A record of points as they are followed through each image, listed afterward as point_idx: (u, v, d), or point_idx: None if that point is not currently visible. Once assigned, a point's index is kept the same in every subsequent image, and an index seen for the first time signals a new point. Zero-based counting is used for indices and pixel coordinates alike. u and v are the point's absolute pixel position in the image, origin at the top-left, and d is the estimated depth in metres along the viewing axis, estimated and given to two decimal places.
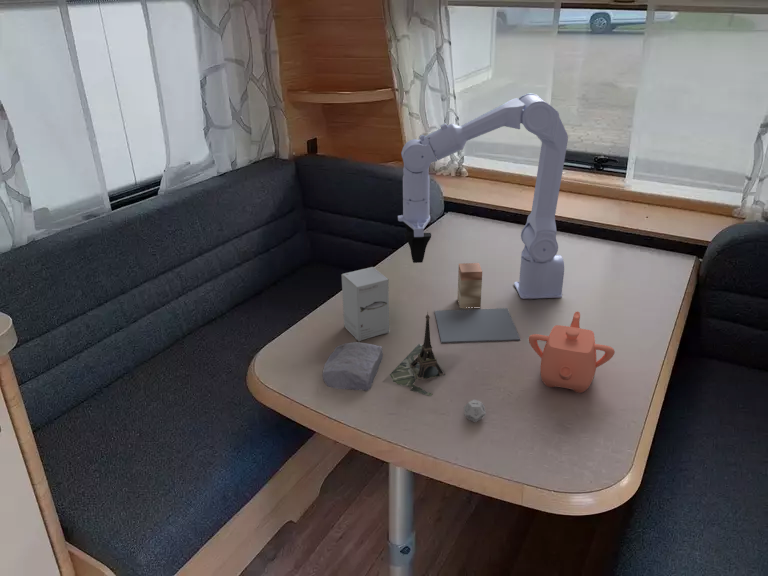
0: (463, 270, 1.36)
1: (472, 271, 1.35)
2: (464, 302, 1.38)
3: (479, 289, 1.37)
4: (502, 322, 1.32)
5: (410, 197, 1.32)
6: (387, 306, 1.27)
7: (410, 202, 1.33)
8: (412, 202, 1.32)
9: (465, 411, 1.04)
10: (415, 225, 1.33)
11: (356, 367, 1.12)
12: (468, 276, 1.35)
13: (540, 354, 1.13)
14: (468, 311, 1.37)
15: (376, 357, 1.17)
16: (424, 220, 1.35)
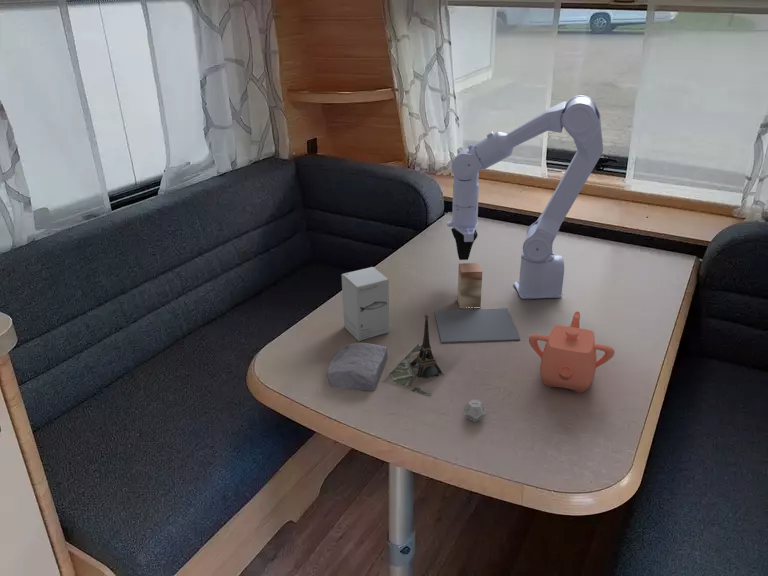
0: (463, 270, 1.36)
1: (472, 271, 1.35)
2: (464, 302, 1.38)
3: (478, 289, 1.37)
4: (502, 322, 1.32)
5: (457, 203, 1.39)
6: (387, 306, 1.27)
7: (460, 208, 1.39)
8: (462, 208, 1.39)
9: (465, 411, 1.04)
10: (465, 230, 1.39)
11: (361, 368, 1.12)
12: (468, 276, 1.35)
13: (540, 354, 1.13)
14: (468, 311, 1.37)
15: (381, 357, 1.17)
16: (473, 226, 1.41)
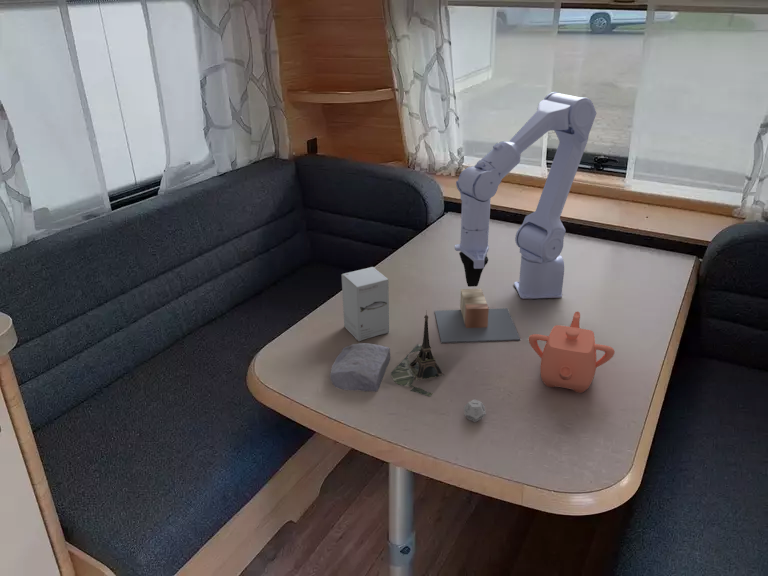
0: (469, 324, 1.30)
1: (477, 326, 1.31)
2: None
3: None
4: (502, 322, 1.32)
5: (477, 227, 1.26)
6: (387, 306, 1.27)
7: (469, 232, 1.27)
8: (471, 232, 1.26)
9: (465, 411, 1.04)
10: (474, 256, 1.27)
11: (364, 368, 1.12)
12: None
13: (540, 354, 1.13)
14: None
15: (384, 358, 1.17)
16: (483, 250, 1.29)
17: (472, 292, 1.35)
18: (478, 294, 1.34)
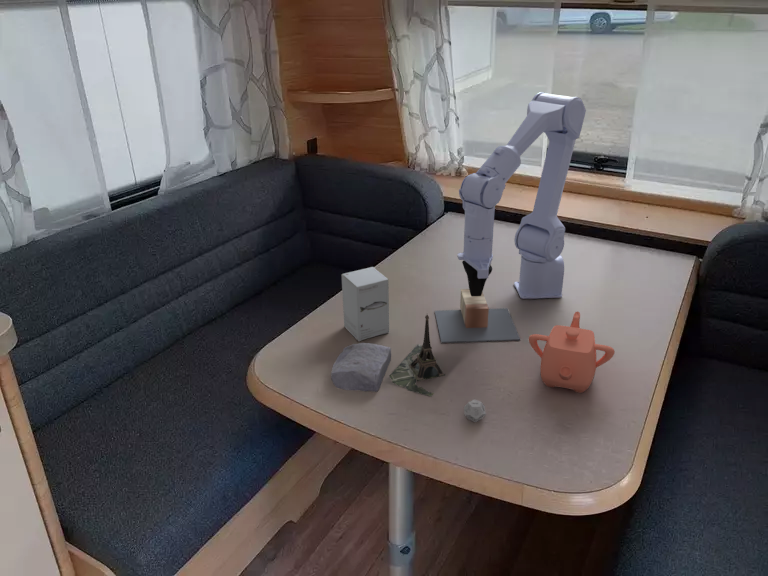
0: (469, 324, 1.30)
1: (477, 326, 1.31)
2: None
3: None
4: (502, 322, 1.32)
5: (483, 235, 1.22)
6: (387, 306, 1.27)
7: (473, 240, 1.23)
8: (475, 240, 1.22)
9: (465, 411, 1.04)
10: (478, 265, 1.23)
11: (365, 368, 1.12)
12: None
13: (540, 354, 1.13)
14: None
15: (385, 358, 1.17)
16: (487, 259, 1.25)
17: None
18: None
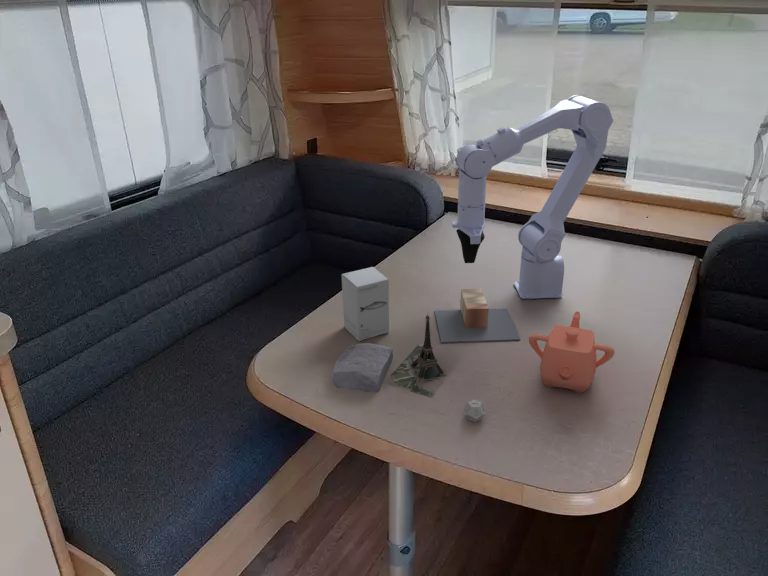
0: (469, 324, 1.30)
1: (477, 326, 1.31)
2: None
3: None
4: (502, 322, 1.32)
5: (469, 204, 1.30)
6: (387, 306, 1.27)
7: (466, 208, 1.30)
8: (468, 208, 1.30)
9: (465, 411, 1.04)
10: (471, 232, 1.30)
11: (366, 368, 1.12)
12: None
13: (540, 354, 1.13)
14: None
15: (386, 358, 1.17)
16: (479, 227, 1.32)
17: (472, 292, 1.35)
18: (478, 294, 1.34)
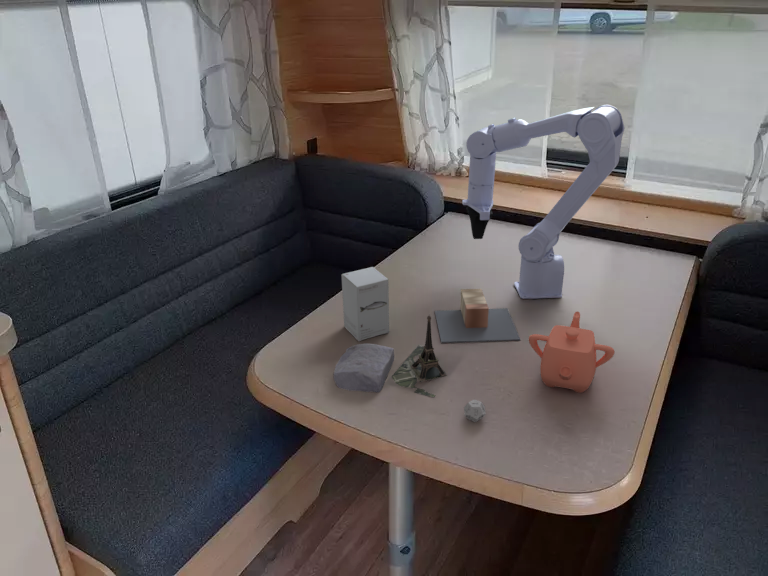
0: (469, 324, 1.30)
1: (477, 326, 1.31)
2: None
3: None
4: (502, 322, 1.32)
5: (471, 180, 1.40)
6: (387, 306, 1.27)
7: (476, 187, 1.40)
8: (478, 187, 1.40)
9: (465, 411, 1.04)
10: (481, 209, 1.40)
11: (367, 369, 1.12)
12: None
13: (540, 354, 1.13)
14: None
15: (387, 359, 1.16)
16: (488, 204, 1.42)
17: (472, 292, 1.35)
18: (478, 294, 1.34)
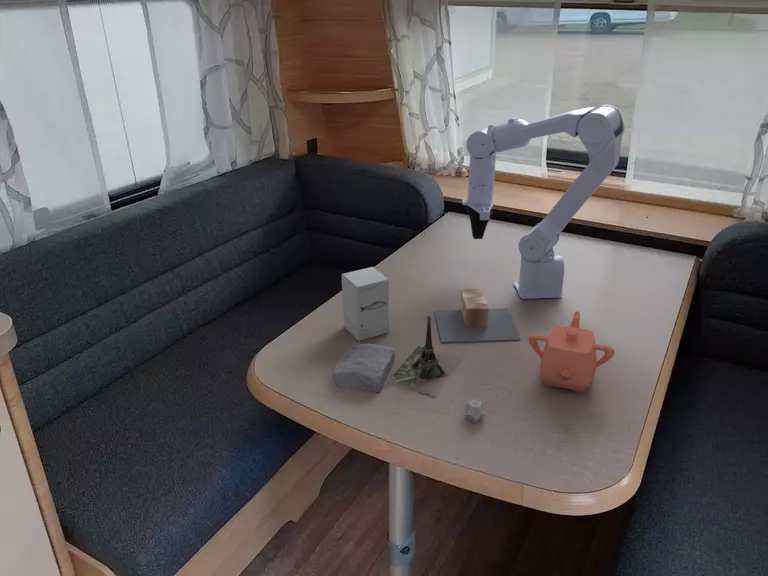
0: (469, 324, 1.30)
1: (477, 326, 1.31)
2: None
3: None
4: (502, 322, 1.32)
5: (471, 180, 1.40)
6: (387, 306, 1.27)
7: (476, 187, 1.40)
8: (478, 187, 1.40)
9: (465, 411, 1.04)
10: (481, 209, 1.40)
11: (367, 369, 1.12)
12: None
13: (540, 354, 1.13)
14: None
15: (388, 359, 1.16)
16: (488, 204, 1.42)
17: (472, 292, 1.35)
18: (478, 294, 1.34)
